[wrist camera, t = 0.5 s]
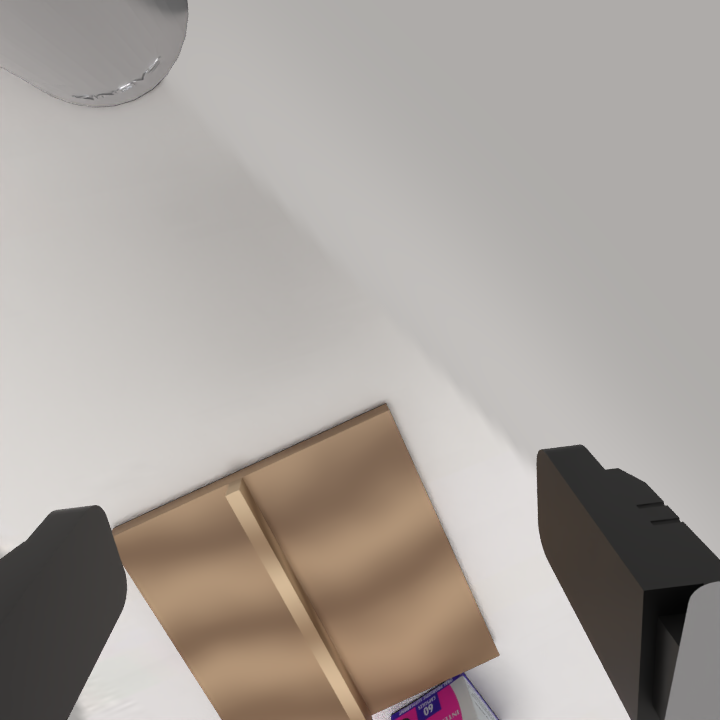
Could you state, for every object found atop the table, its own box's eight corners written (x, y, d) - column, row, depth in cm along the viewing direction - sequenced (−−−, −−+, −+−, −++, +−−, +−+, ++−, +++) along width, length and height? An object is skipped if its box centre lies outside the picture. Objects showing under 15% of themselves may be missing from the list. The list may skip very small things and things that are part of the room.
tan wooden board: (113, 528, 31) (97, 554, 29) (385, 403, 31) (394, 418, 29) (255, 752, 36) (252, 793, 33) (493, 642, 36) (508, 673, 33)
